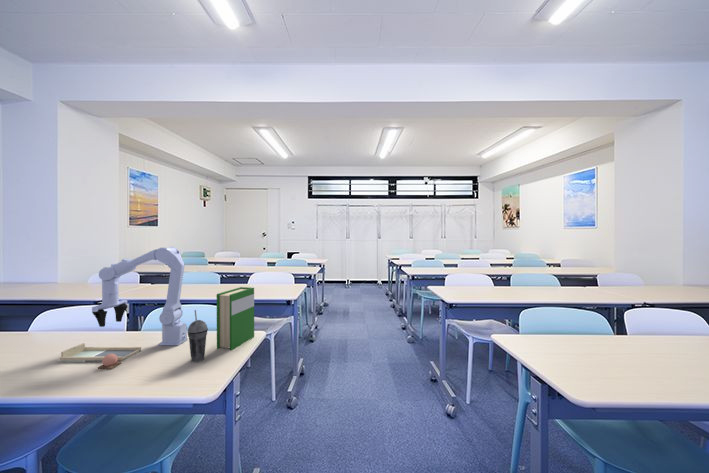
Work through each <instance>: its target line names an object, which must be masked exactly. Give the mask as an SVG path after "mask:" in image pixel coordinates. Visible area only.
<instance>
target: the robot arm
mask: <svg viewBox="0 0 709 473" xmlns="http://www.w3.org/2000/svg"><path fill="white" fill-rule="evenodd" d="M152 260H153V261H159V262H161V263H162V264H164V265H166V266H167V267H168V268H169V269H170V271H169V280H168V287H167V292H166V293H167V295H166V302H165V304H164V305H163V308H162V312H161V313H160V315H159V318H158V320H159V322H160V323H161V335H162V337H161V342H160V343H157V346H179V345H182V343H184V342H186V341H188V340H189V337H188V333H187V332H188V326H187V324H186V323H183V322H181V318H182V316H183V315H184V314H183V309H182V303H181V302H180V301H181V294H182V286H183V280H184V279H183V278H184V271H185V263H184V260H183V258H182V256H181V251H180V250H179V249H178V248H177V247H174V246H169V247H159V248H157V249H153V250H151V251H148V252H145V253H144V254H142V255H140V256H137V257H136V258H135V257H134V258H133V259H130V258H127V259H126V258H123V259H121V260H120V261H119V262H117V263H113V264H111V265H110V266H109V267H107V266H106V267H103V268H101V269H100V270H99V272H98V278H99V279H100V280H101V296H102V297H101V304H99V305H98V304H97V305H95V306H92V307H91V313H92V314H93V317H95V319H96V321H97V323H98V326H99V327H101V328H102V327H103V328H104V327H105V326H106V318H107V313H108V310H107V309H111V308H113V310H114V313H115V321H116V323H118V322H119V323H121V322H122V319H123V317H124V313H125V312H126V310H127V309H128V300H127V299H122V300H120V299H119V296H120V295H119V294H120V293H119V280H120V278H121V276H124V275H126V274H128V273H131V272H133V271H135V270H136V269H137V266H140V265H142V264H145V263H147V262H149V261H152Z"/></svg>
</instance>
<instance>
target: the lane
mask: <svg viewBox="0 0 709 473" xmlns="http://www.w3.org/2000/svg"><path fill="white" fill-rule="evenodd" d="M85 345H86V344H85V343H81V344H78V345H76V346H73V347H71V348H68V349H66V350H63V351H60V352H61V353H60V356H59V358H58V360H59V361H58V362H59V363H102V360H103V358H104V357H105V356H106V355H108V354H115V355H116V356H117V358H118V360H117V362H121V361H122V362H123V361H125V360H127V359H128V358H130V357H132V356H134V355H136V354H138V353H140V352H142V346H85Z"/></svg>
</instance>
